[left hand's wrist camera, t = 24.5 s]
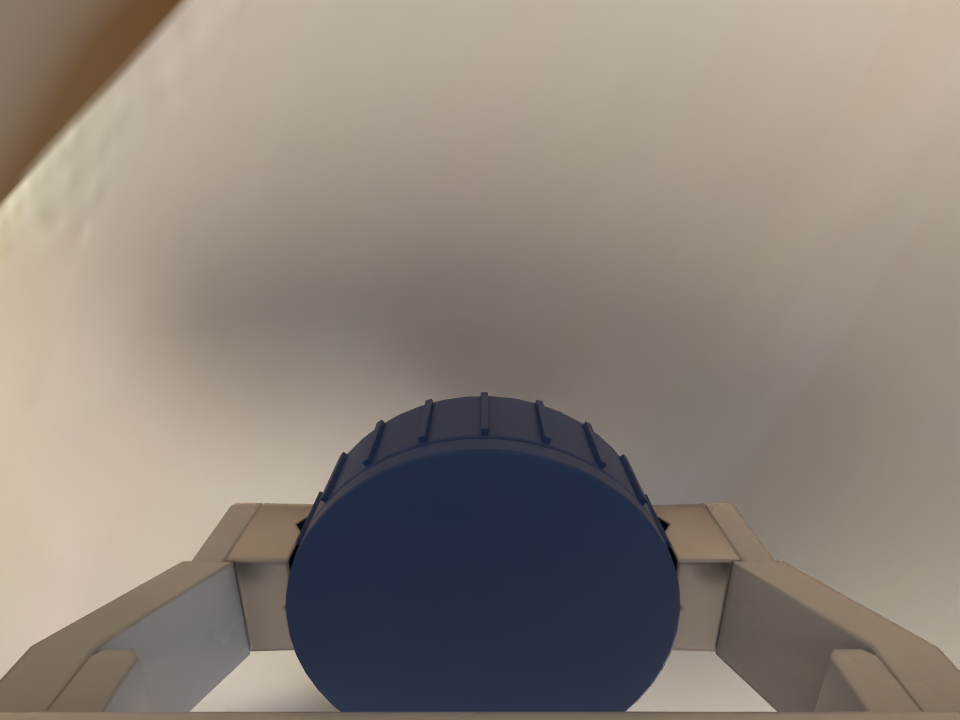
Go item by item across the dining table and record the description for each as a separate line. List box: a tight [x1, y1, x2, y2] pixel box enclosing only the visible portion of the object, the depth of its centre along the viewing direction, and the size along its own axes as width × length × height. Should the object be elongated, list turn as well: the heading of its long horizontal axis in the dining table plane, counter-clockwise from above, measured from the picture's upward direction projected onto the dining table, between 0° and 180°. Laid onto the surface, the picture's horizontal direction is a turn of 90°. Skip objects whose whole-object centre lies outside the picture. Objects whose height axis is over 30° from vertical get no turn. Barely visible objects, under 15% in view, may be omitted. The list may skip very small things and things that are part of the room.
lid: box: [286, 392, 680, 712], centre depth 9 cm, size 6×6×2 cm
